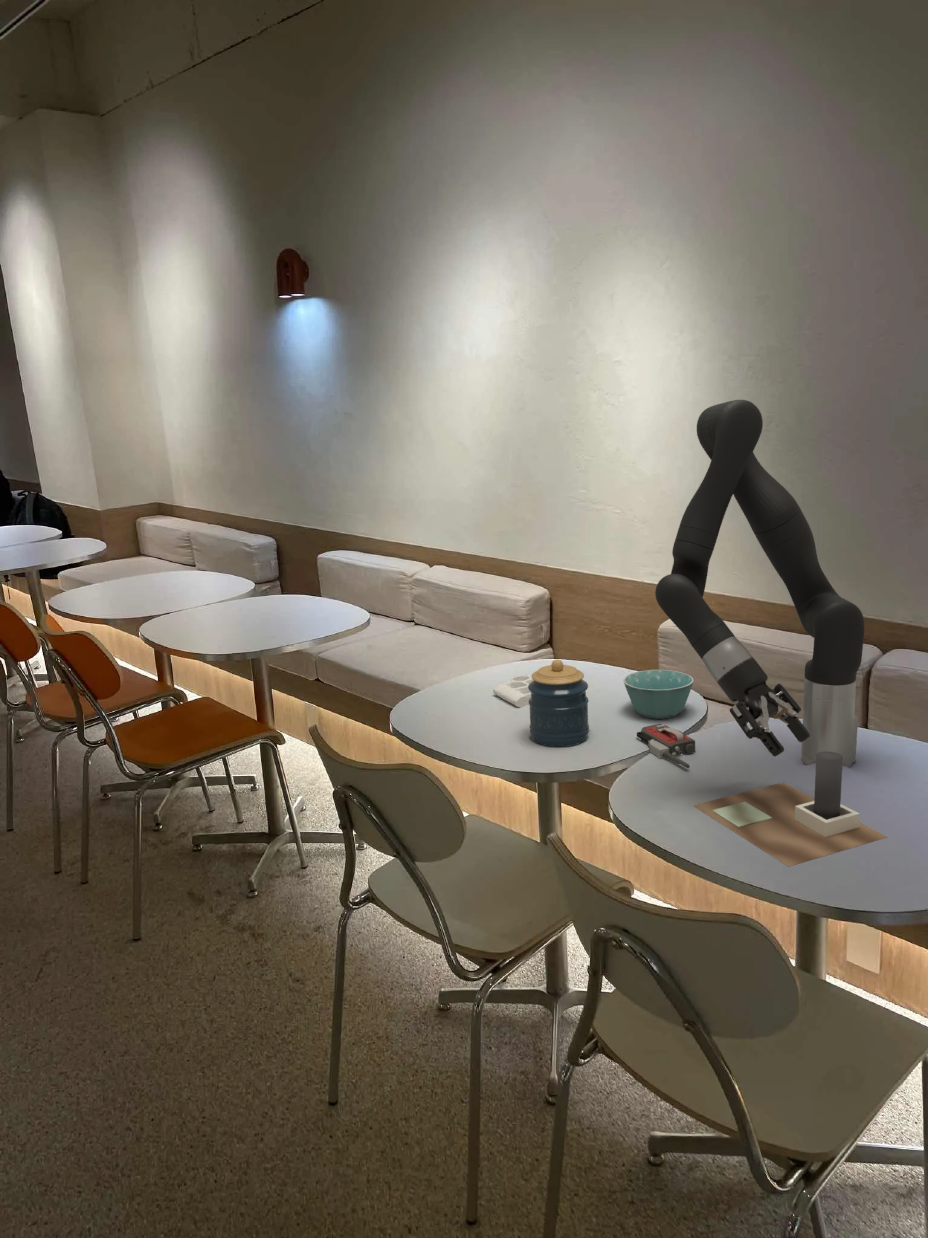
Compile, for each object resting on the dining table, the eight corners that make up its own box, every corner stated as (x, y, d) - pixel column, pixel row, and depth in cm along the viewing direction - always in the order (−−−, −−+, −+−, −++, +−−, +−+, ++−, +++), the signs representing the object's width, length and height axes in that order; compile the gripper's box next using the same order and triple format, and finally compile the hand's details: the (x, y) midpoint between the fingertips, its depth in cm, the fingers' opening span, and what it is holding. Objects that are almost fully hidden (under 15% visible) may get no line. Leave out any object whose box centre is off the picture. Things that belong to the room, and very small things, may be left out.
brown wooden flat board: (782, 789, 166) (783, 781, 166) (887, 845, 144) (887, 836, 144) (692, 813, 159) (692, 804, 158) (788, 875, 137) (788, 865, 137)
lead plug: (826, 816, 152) (829, 749, 149) (844, 825, 148) (848, 758, 145) (808, 821, 150) (810, 754, 148) (825, 831, 147) (829, 763, 144)
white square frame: (827, 810, 154) (827, 797, 153) (858, 827, 147) (859, 813, 147) (794, 819, 151) (795, 806, 151) (825, 837, 145) (826, 823, 144)
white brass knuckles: (487, 694, 230) (536, 683, 236) (523, 714, 214) (574, 702, 220) (486, 681, 229) (535, 671, 235) (522, 700, 213) (574, 689, 220)
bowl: (610, 715, 209) (609, 681, 207) (649, 697, 220) (649, 665, 218) (668, 729, 198) (668, 694, 196) (706, 710, 209) (706, 676, 207)
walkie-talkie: (627, 741, 194) (683, 774, 176) (627, 722, 193) (683, 753, 175) (662, 734, 197) (720, 765, 179) (661, 715, 196) (720, 744, 178)
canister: (551, 752, 189) (548, 672, 185) (518, 734, 200) (515, 658, 196) (601, 739, 195) (599, 661, 191) (567, 722, 206) (565, 648, 202)
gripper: (725, 666, 150) (786, 748, 144) (769, 647, 159) (829, 724, 153) (697, 690, 155) (755, 769, 149) (742, 671, 164) (798, 745, 158)
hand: (793, 746), depth 151 cm, fingers open, 8 cm apart
